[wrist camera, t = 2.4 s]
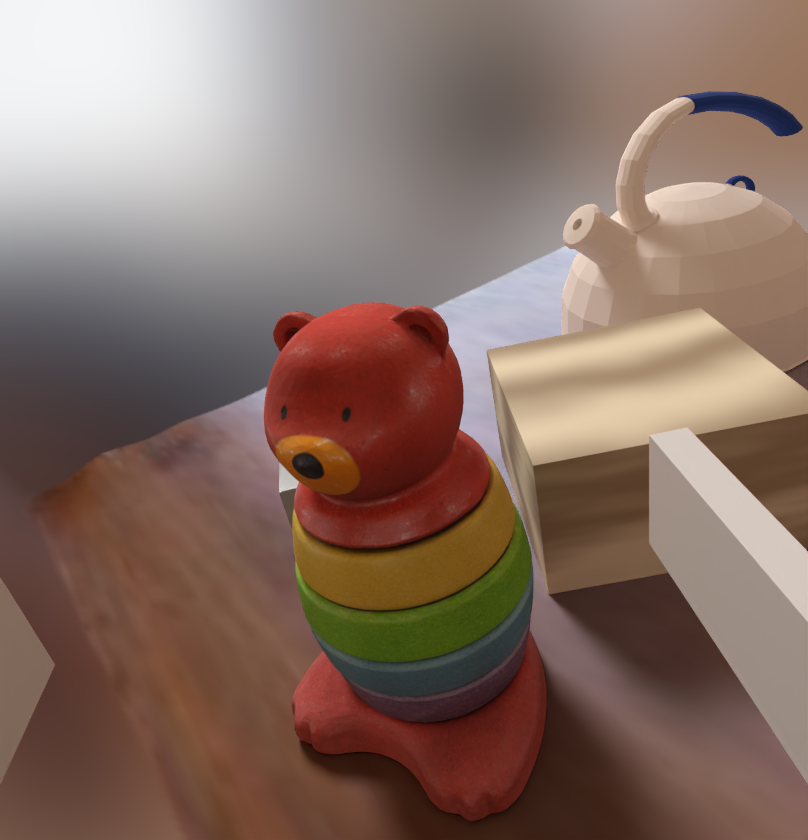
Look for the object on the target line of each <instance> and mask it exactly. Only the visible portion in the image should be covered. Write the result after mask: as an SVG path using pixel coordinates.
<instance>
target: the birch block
mask: <svg viewBox="0 0 808 840" xmlns="http://www.w3.org/2000/svg"><path fill="white" fill-rule="evenodd" d="M487 356H488V363H489V370H490V377H491V384H492V391H493V398H494V404H495V411H496V418H497V425H498V432H499V439H500V445H501V452H502V457H503V460H504V463H505V466H506V469H507V472H508V475H509V478H510V481H511V484H512V487H513V490H514V493H515V496H516V499H517V502H518V505H519V508H520V511H521V514H522V517H523V520H524V523H525V526H526V529H527V532H528V535H529V538H530V541H531V544H532V547H533V550H534V553H535V556H536V559H537V562H538V565H539V568H540V571H541V574H542V577H543V580H544V583H545V585H546V588H547V591H548V594H554V593H560V592H565V591H571V590H576V589H582V588H587V587H593V586H598V585H604V584H609V583H615V582H620V581H626V580H631V579H637V578H643V577H648V576H654V575H659V574H665V573H668V571H667V570H666V568H665V567H664V565H663V563H662V562H661V560H660V559H659V557H658V556H657V554H656V553H655V551H654V550H653V548H652V547H651V545H650V544H649V435H652V434H657V433H662V432H667V431H672V430H677V429H682V428H688V429H689V430H690V431H691V432H692V433H693V434H694V435H695V436H696V437H697V438H698V439H699V440H700V441H701V442H702V443H703V444H704V445H705V446H706V447H707V448H708V449H709V450H710V451H711V452H712V453H713V454H714V455H715V456H716V457H717V458H718V459H719V460H720V461H721V463H722V464H723V465H724V466H725V467H726V468H727V469H728V470H729V471H730V472H731V473H732V474H733V475H734V476H735V477H736V478H737V479H738V480H739V481H740V482H741V483H742V484H743V485H744V486H745V487H746V488H747V489H748V490H749V491H750V492H751V493H752V494H753V495H754V497H755V498H756V499H757V500H758V501H759V502H760V503H761V504H762V505H763V506H764V507H765V508H766V509H767V510H768V511H769V512H770V513H771V514H772V515H773V516H774V517H775V518H776V519H777V520H778V521H779V522H780V523H781V524H782V525H783V526H784V527H785V528H786V529H787V531H788V532H789V533H790V534H791V535H792V536H793V537H794V538H795V539H796V540H797V541H798V542H799V543H800V544H801V545H802V546H803V547H804V548H808V391H807V390H806V389H805V388H803V387H802V386H801V385H799V384H798V383H797V382H796V381H794V380H793V379H792V378H790V377H789V376H788V375H786V374H785V373H784V372H783V371H781V370H780V369H779V368H777V367H776V366H775V365H774V364H772V363H771V362H770V361H768V360H767V359H766V358H764V357H763V356H762V355H761V354H759V353H758V352H757V351H755V350H754V349H753V348H751V347H750V346H749V345H748V344H746V343H745V342H744V341H742V340H741V339H740V338H739V337H737V336H736V335H735V334H733V333H732V332H731V331H729V330H728V329H727V328H726V327H724V326H723V325H722V324H720V323H719V322H718V321H717V320H715V319H714V318H713V317H711V316H710V315H709V314H707V313H706V312H705V311H704V310H702V309H701V308H696V309H691V310H686V311H681V312H676V313H671V314H665V315H660V316H655V317H650V318H645V319H640V320H635V321H630V322H625V323H620V324H615V325H610V326H605V327H600V328H595V329H590V330H585V331H580V332H575V333H570V334H565V335H560V336H555V337H550V338H545V339H540V340H535V341H530V342H525V343H520V344H515V345H510V346H505V347H500V348H495V349H490V350H487Z"/></svg>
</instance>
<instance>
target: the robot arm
mask: <svg viewBox="0 0 808 840" xmlns="http://www.w3.org/2000/svg"><path fill="white" fill-rule="evenodd" d="M649 544H650V545H651V547H652V548H653V550H654V551H655V553H656V554H657V556H658V557H659V559H660V560H661V562H662V563H663V565H664V567H665V568H666V570H667V571H668V573H669V574H670V576H671V577H672V579H673V580H674V582H675V583H676V585H677V586H678V588H679V589H680V591H681V592H682V594H683V595H684V597H685V598H686V600H687V601H688V603H689V604H690V606H691V607H692V609H693V611H694V612H695V614H696V615H697V617H698V618H699V620H700V621H701V623H702V624H703V626H704V627H705V629H706V630H707V632H708V633H709V635H710V636H711V638H712V639H713V641H714V642H715V644H716V645H717V647H718V648H719V650H720V652H721V653H722V655H723V656H724V658H725V659H726V661H727V662H728V664H729V665H730V667H731V668H732V670H733V671H734V673H735V674H736V676H737V677H738V679H739V680H740V682H741V683H742V685H743V686H744V688H745V689H746V691H747V692H748V694H749V696H750V697H751V699H752V700H753V702H754V703H755V705H756V706H757V708H758V709H759V711H760V712H761V714H762V715H763V717H764V718H765V720H766V721H767V723H768V724H769V726H770V727H771V729H772V730H773V732H774V733H775V735H776V736H777V738H778V740H779V741H780V743H781V744H782V746H783V747H784V749H785V750H786V752H787V753H788V755H789V756H790V758H791V759H792V761H793V762H794V764H795V765H796V767H797V768H798V770H799V771H800V773H801V774H802V776H803V777H804V779H805V780H806V782H807V784H808V551H807V550H806V549H805V548H804V547H803V546H802V545H801V544H800V543H799V542H798V541H797V540H796V539H795V538H794V537H793V536H792V535H791V534H790V533H789V532H788V531H787V529H786V528H785V527H784V526H783V525H782V524H781V523H780V522H779V521H778V520H777V519H776V518H775V517H774V516H773V515H772V514H771V513H770V512H769V511H768V510H767V509H766V508H765V507H764V506H763V505H762V504H761V503H760V502H759V501H758V500H757V499H756V498H755V497H754V495H753V494H752V493H751V492H750V491H749V490H748V489H747V488H746V487H745V486H744V485H743V484H742V483H741V482H740V481H739V480H738V479H737V478H736V477H735V476H734V475H733V474H732V473H731V472H730V471H729V470H728V469H727V468H726V467H725V466H724V465H723V464H722V463H721V461H720V460H719V459H718V458H717V457H716V456H715V455H714V454H713V453H712V452H711V451H710V450H709V449H708V448H707V447H706V446H705V445H704V444H703V443H702V442H701V441H700V440H699V439H698V438H697V437H696V436H695V435H694V434H693V433H692V432H691V431H690V430H689V429H688V428H682V429H677V430H672V431H667V432H662V433H657V434H652V435H649ZM54 666H55V664H54V663H53V661H52V659H51V658H50V656H49V655H48V653H47V651H46V650H45V648H44V647H43V645H42V643H41V642H40V640H39V639H38V637H37V636H36V634H35V632H34V631H33V629H32V627H31V626H30V624H29V623H28V621H27V619H26V618H25V616H24V615H23V613H22V611H21V610H20V608H19V607H18V605H17V604H16V602H15V600H14V599H13V597H12V595H11V594H10V592H9V590H8V589H7V587H6V586H5V584H4V583H3V581H2V579H1V578H0V784H1V781H2V780H3V777H4V775H5V773H6V771H7V768H8V766H9V764H10V762H11V760H12V758H13V755H14V753H15V751H16V749H17V747H18V744H19V742H20V740H21V738H22V736H23V734H24V731H25V729H26V727H27V725H28V722H29V720H30V718H31V716H32V714H33V712H34V709H35V707H36V705H37V703H38V701H39V698H40V696H41V694H42V692H43V690H44V687H45V685H46V683H47V681H48V679H49V676H50V674H51V672H52V670H53V668H54Z"/></svg>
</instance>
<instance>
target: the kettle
mask: <svg viewBox="0 0 808 840" xmlns="http://www.w3.org/2000/svg"><path fill="white" fill-rule="evenodd" d="M705 111H729V112H735V113H740V114H744V115H746V116H749V117H751V118H754V119H756V120H759V121H760V122H762V123H763V124H764V125H766V126H768V127H769V128H770V129H771V130H772V131H773V133H774V134H775V135H777V136H789V135H793V134H795V133H798V132H799V131H800V130H802V128H803V127H802V125H801V124H800V123H799V122H798V121H797V119H796V118H795V117H794V116H793V115H792V114H791V113H790V112H788V111H787V110H785V109H784V108H782V107H781V106H780V105H778V104H776V103H773V102H771V101H769V100H766V99H764V98H762V97H758V96H753V95H747V94H742V93H738V92H704V93H697V94H691V95H685V96H681V97H678V98H676V99H675V100H673V101H672V102H670V103H668V104H666V105H664V106H663V107H661V108H659V109H657V110H656V111H654V112H653V113H651V114H650V116H648V118H647V119H646V120H645V121H644V122H643V124H642V125H641V126H640V127H639V128H638V129H637V131H636V132H635V133H634V134H633V136H632V138H631V140H630V142H629V144H628V146H627V148H626V150H625V152H624V154H623V156H622V158H621V162H620V166H619V171H618V176H617V180H616V200H617V208H618V211H617V212H616V213H615V214H614V215H612V216H611V217H610V218H609V217H608V216H606V215H604V214H603V213H601V212H600V210H599V208H598V207H597V206H596V205H594V204H588V205H584V206H582V207H580V208H578V209H577V210H576V211H575V212H574V213H573V214H572V215H571V216H570V217H569V219H568V221H567V222H566V225H565V228H564V233H563V238H564V241H565V245H566V246H567V247H568V248H570V249H576V250H577V251H579V253H578V255H577V256H576V257H575V259H574V260H573V263H572V266H571V269H570V272H569V275H568V278H567V280H566V283H565V286H564V290H563V295H562V317H561V335H565V334H570V333H575V332H580V331H585V330H590V329H595V328H600V327H605V326H610V325H615V324H620V323H625V322H630V321H635V320H640V319H645V318H650V317H655V316H660V315H665V314H671V313H676V312H681V311H686V310H691V309H696V308H701V309H702V310H704V311H705V312H706V313H707V314H709V315H710V316H711V317H713V318H714V319H715V320H717V321H718V322H719V323H720V324H722V325H723V326H724V327H726V328H727V329H728V330H729V331H731V332H732V333H733V334H735V335H736V336H737V337H739V338H740V339H741V340H742V341H744V342H745V343H746V344H748V345H749V346H750V347H751V348H753V349H754V350H755V351H757V352H758V353H759V354H761V355H762V356H763V357H764V358H766V359H767V360H768V361H770V362H771V363H772V364H774V365H775V366H776V367H777V368H779V369H780V370H781V371H783V372H787V371H789V370H791V369H793V368H794V367H796V366H798V365H800V364H802V363H803V362H805V361H807V360H808V233H807V232H806V231H805V230H804V229H803V228H802V226H801V225H800V224H799V223H798V222H797V221H796V220H795V219H794V217H793V216H792V215H791V214H790V213H789V212H788V211H787V210H785V209H783V208H782V207H780V206H778V205H777V204H775V203H773V202H772V201H770V200H769V199H767V198H765V197H764V196H762V195H760V194H758V193H756V192H755V185H754V183H753V181H752V180H751V179H749V178H748V177H745V176H735V177H732V178H730V179H729V180H728V181H727V182H726V185H724V184H719V183H712V182H696V183H686V184H679V185H674V186H669V187H665V188H662V189H659V190H657V191H654V192H652V193H650V194H648V195H645V185H644V182H645V177H646V172H647V167H648V162H649V159H650V158H651V155H652V153H653V151H654V149H655V147H656V145H657V143H658V141H659V139H660V138H661V137H662V136H663V135H664V134H665V133H666V131H667V130H668V129H669V128H670V127H671V126H672V125H673V123H674V122H676V121H677V120H679V119H681V118H683V117H684V116H686V115H689V114H694V113H699V112H705ZM738 181H743V182H744V183H745V185H746V189H742V188H738V187H733V185H735V184H736V183H737V182H738Z"/></svg>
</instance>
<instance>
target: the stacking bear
mask: <svg viewBox="0 0 808 840" xmlns="http://www.w3.org/2000/svg"><path fill="white" fill-rule="evenodd" d="M273 335H274V341H275V343H276V345H277V347H278V348H279V350H280V351H281V352H280V354H279V356H278V358H277V360H276V362H275V364H274V367H273V369H272V372H271V375H270V379H269V382H268V386H267V391H266V397H265V406H264V426H265V433H266V437H267V441H268V444H269V446H270V449H271V450H272V452H273V453H274V455H275V456H276V458H277V459H278V461H279V462H280V463H281V465H282V466H283V467H284V468H285V469H286V470H287V471H288V472H289V473H290V474H291V475H292V476H293V477H294V478H295V479H296V480H298V481H299V483H298V486H297V489H296V493H295V498H294V510H293V519H292V532H293V545H294V553H295V559H296V563H295V567H296V578H297V584H298V590H299V595H300V599H301V603H302V607H303V610H304V613H305V616H306V618H307V620H308V622H309V624H310V627H311V630H312V632H313V634H314V636H315V638H316V639H317V641H318V643H319V645H320V646H321V648H322V650H323V651H322V653H321V654H320V655H319V656H318V657H317V658H316V660H315V661H314V662H313V664H312V665H311V666H310V668H309V669H308V670H307V672H306V673H305V675H304V676H303V678H302V680H301V681H300V683H299V684H298V686H297V688H296V691H295V693H294V695H293V698H292V710H293V714H294V722H295V731H296V734H297V736H298V737H299V738H300V740H302V741H304V742H305V743H309V744H312V745H313V748H314V749H315V750H316V751H318V752H320V753H324V754H342V753H350V752H372V753H378V754H381V755H385V756H387V757H390V758H392V759H394V760H396V761H398V762H399V763H401V764H403V765H404V766H405V767H407V768H408V769H409V770H410V771H411V772H412V773H413V774H414V775H415V776H416V778H417V779H418V781H419V782H420V784H421V785H422V787H423V789H424V790H425V792H426V794H427V796H428V797H429V799H430V800H431V801H432V802H433V803H434V804H435V806H436V807H438V808H439V809H440V810H442V811H445V812H448V813H456V814H459V815H461V816H462V817H463V818H464V819H466V820H468V821H476V820H479V819H482V818H484V817H485V816H487V815H488V814H491V813H499V812H502V811H504V810H506V809H507V808H508V807H510V806H511V805H512V804H513V803H514V802H515V801H516V800H517V798H518V797H519V796H520V794H521V793H522V791H523V789H524V787H525V785H526V783H527V781H528V779H529V777H530V774H531V772H532V769H533V767H534V764H535V762H536V759H537V756H538V752H539V749H540V746H541V742H542V737H543V733H544V727H545V720H546V710H547V691H546V681H545V675H544V669H543V665H542V661H541V658H540V654H539V651H538V648H537V645H536V643H535V640H534V638H533V636H532V634H531V632H530V630H529V629H530V617H531V611H532V601H533V566H532V557H531V550H530V546H529V542H528V538H527V535H526V532H525V529H524V525H523V522H522V520H521V517H520V515H519V512H518V510H517V508H516V506H515V504H514V503H513V502H512V499H511V496H510V493H509V490H508V488H507V486H506V484H505V482H504V480H503V477H502V476H501V474H500V472H499V470H498V468H497V467H496V465H495V463H494V462H493V460H492V459H491V458H490V457H489V456H488V455H487V454H486V453H485V451H484V450H483V448H482V447H481V446H480V445H479V444H478V443H477V442H476V441H475V440H474V439H473V438H471V437H470V436H468V435H467V434H466V433H464V432H463V431H461V430H460V429H459V426H460V421H461V416H462V412H463V382H462V376H461V371H460V367H459V364H458V361H457V358H456V356H455V354H454V352H453V350H452V348H451V347H450V345H449V343H448V342H449V335H448V329H447V326H446V324H445V322H444V320H443V319H442V318H441V316H440V315H439V314H438V313H436V312H435V311H433V310H432V309H430V308H427V307H423V306H412V307H408V308H405V309H404V308H402V307H399V306H395V305H391V304H386V303H361V304H354V305H350V306H346V307H343V308H339V309H336V310H334V311H331V312H329V313H326V314H325V315H322V316H320V317H314V316H313V315H311V314H308V313H305V312H298V311H296V312H290V313H287V314H285V315H283V316H282V317H280V319H279V320H278V322H277V324H276V326H275V328H274V331H273Z"/></svg>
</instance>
